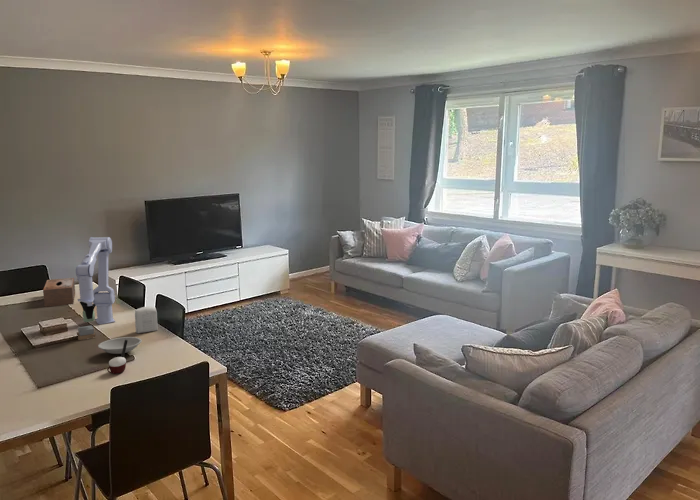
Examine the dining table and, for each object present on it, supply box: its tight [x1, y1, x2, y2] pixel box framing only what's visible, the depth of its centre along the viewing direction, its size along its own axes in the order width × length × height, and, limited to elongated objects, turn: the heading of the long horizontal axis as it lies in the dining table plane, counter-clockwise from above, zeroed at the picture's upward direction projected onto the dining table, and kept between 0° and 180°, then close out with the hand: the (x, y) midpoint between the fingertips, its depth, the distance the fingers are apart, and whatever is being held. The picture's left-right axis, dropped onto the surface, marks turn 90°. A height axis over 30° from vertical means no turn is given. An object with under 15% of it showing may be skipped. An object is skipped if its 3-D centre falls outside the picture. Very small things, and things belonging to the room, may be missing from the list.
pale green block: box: [82, 310, 96, 323], centre depth 253 cm, size 5×5×4 cm
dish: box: [97, 336, 143, 355], centre depth 234 cm, size 18×14×5 cm
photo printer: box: [134, 306, 158, 334], centre depth 262 cm, size 10×4×12 cm, turn 123°
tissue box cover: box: [42, 277, 76, 308], centre depth 315 cm, size 26×14×10 cm, turn 25°
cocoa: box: [106, 340, 128, 375], centre depth 214 cm, size 10×6×12 cm, turn 126°
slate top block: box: [77, 324, 95, 336], centre depth 254 cm, size 6×6×2 cm
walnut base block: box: [76, 331, 96, 341], centre depth 254 cm, size 7×7×2 cm
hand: (88, 317), depth 253 cm, fingers closed on pale green block, 5 cm apart
